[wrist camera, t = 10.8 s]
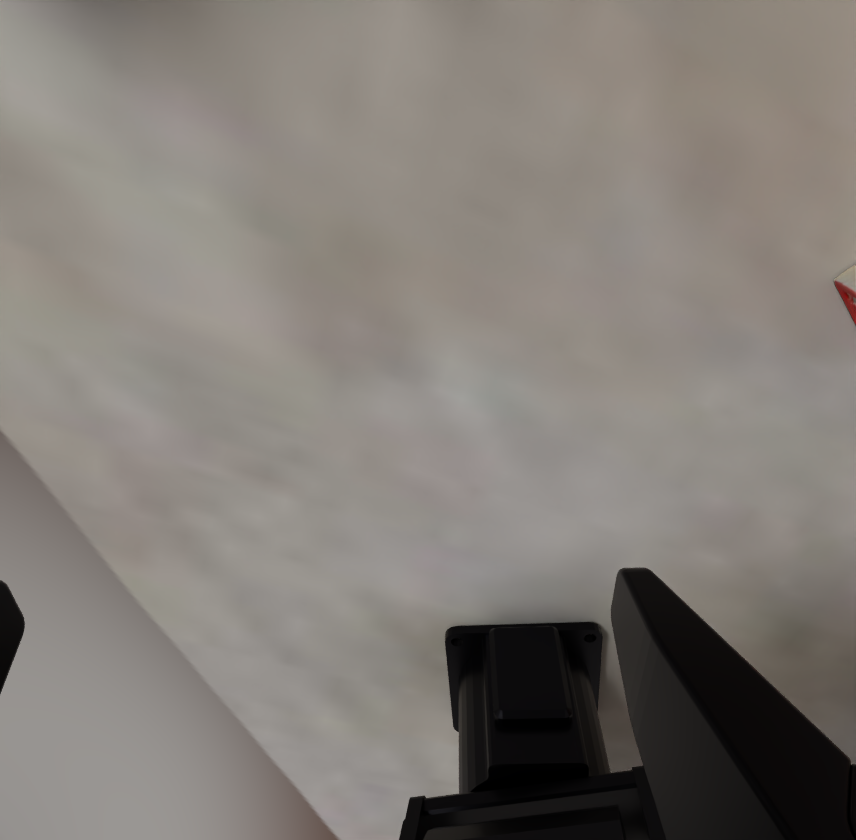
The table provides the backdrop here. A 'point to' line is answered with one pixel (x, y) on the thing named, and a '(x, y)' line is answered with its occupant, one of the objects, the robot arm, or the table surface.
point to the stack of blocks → (848, 289)
